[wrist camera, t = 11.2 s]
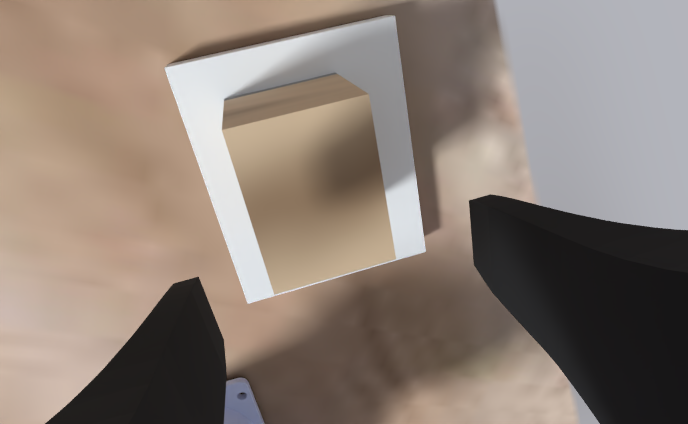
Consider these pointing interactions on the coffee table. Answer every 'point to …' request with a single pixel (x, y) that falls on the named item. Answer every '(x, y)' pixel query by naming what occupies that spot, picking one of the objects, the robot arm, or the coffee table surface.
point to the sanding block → (310, 179)
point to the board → (288, 67)
